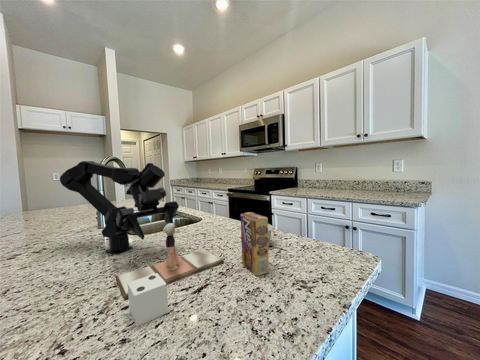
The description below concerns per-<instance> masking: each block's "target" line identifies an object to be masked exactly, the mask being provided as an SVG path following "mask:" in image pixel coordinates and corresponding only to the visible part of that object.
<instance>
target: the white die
mask: <svg viewBox="0 0 480 360" xmlns="http://www.w3.org/2000/svg"><path fill="white" fill-rule="evenodd" d="M127 284H128V297H129V299H128V306H129V307H128V308H129V313H130V315H131V317H132V320H133V322H134V324H135V327H139V326H142V325H143V324H146V323H147V322H150V321H152V320H155V319H157V318H160V317H161V316H164V315H165V314H168V313H169V302H168V301H169V299H168V289H167V287H168V286H167V285H168V284H166V283H165V282H164V280H163V279H162V278H161V277H160V276H159V275H158V273H155V274H152V275H149V276H146V277H143V278H140V279H137V280H134V281H131V282H128V283H127Z"/></svg>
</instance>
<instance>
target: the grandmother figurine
mask: <svg viewBox="0 0 480 360" xmlns="http://www.w3.org/2000/svg"><path fill="white" fill-rule="evenodd" d="M162 232H163V233H165V234H166V238H165V239H166V240H165V247H166V254H167V256H168V257H167V258H168V259H167V261H168V265H167V268H168V271H174V270H177V269H178V266H176V265H177V264H178V263H179V259H178V257H179V255H178V250H177V248H176V245H175V243H176V241H175V237H174V235H175V234H176V228H175V224H174V222H173V223H169V224H166V225H164V228H163V229H162Z"/></svg>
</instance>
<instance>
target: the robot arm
mask: <svg viewBox="0 0 480 360" xmlns="http://www.w3.org/2000/svg"><path fill="white" fill-rule="evenodd" d="M165 174H166V173H165V171H164V170H163V169H162V168H160V167H158V166H157V165H155V164H154V163H152V162H147V164H146V165H145V167H144V168H143V169H142V170H141V171H140V170H139V169H138V168H136V167H116V166H111V165H108V164H104V163H98V162H95V161H91V160H90V161H89V160H88V161H87V160H84V161H80V162H79V163H77V164H76V165H75V166H72V167H71V168H68V169H67V170H66V171H64V172H63V173H62V174H61V175H60V177H59V182H60V183H61V186H62V187H64V188H65V189H67V190H69V191H71V192H75V193H77V194H80V196H81V197H83V198H84V199H85V200H86V201H87V202H88V203H89V204H90V205H91V206H92V207H93V208H94V209H95V210H97V211H98V212H99V213H100V214H101V216H103V217H104V224H105V227H103V229H102V230H101V234H102V237H103V238H108V242H109V244H108V245H109V248H108V249H107V250H105V253H109V254H114V255H119V254H121V253H124V252H126V251H129V250H131V249H133V246H132V245H130V239H129V233H128V232H132V233H134V234H135V235H136V236H138V237H139V238H140V239H141V240H145V234H144V231H143V229H142V228H141V225H140V222H139V220H138V219H139V218H143V217H150V216H157V215H162V217H163V220H164V222H165V224H166V225H167V224H169V223H173V224H174V216H175V215H176V213H177V212H178V209H179V207H180V205H179V204H178V203H179V202H177V201H174V200H173V201H168V202H165V203H164V204H163V206H162V207H158V206H159V205H160V200H162V199H164V198H165V197H166V196H167V192H166V190H165V188H164V187H158V188H157V189H156V188H155V187H156V186H157V185H158V184H159V183H160V181H162V179H163V178H164V177H165ZM94 175H97V176H100V177H105V178H109V179H111V180H112V181H113V183H116V184H118V185H121V186H124V185H130V186H128V189H127V190H126V192H125V195H128V196H129V195H130V196H132V199H133V201H134V207H135V208H136V209H137V211H135V209H134V208H133V207H128V208H127V206H125V205H123V206H119V207H117V206H116V205H114V203H112V202H111V201H110V200H109V199H108V198H107V197H106V196H105V195H103V193H102V192H100V191H99V190H98V189H97V188H96V187H95V186H93V185H92V178H93V177H94ZM150 188H151V189H150ZM152 188H155V189H152Z"/></svg>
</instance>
